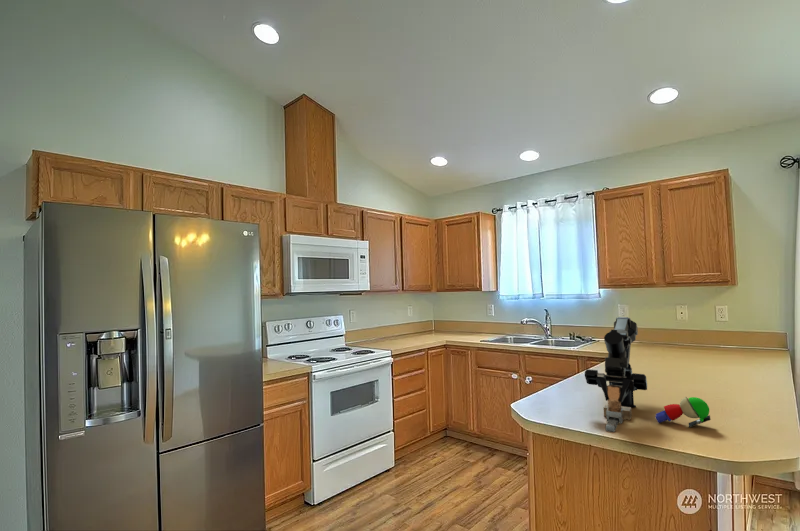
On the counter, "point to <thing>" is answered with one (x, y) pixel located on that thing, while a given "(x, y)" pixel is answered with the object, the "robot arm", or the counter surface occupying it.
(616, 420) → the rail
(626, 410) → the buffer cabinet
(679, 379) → the counter surface
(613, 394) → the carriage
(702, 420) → the toy
